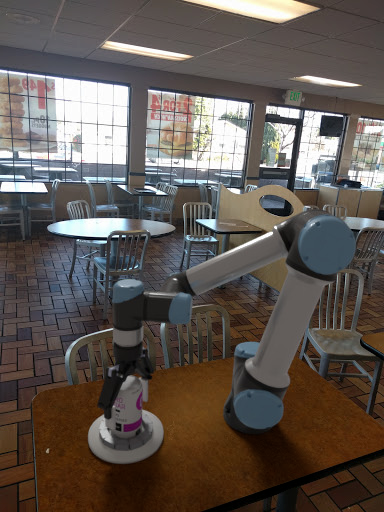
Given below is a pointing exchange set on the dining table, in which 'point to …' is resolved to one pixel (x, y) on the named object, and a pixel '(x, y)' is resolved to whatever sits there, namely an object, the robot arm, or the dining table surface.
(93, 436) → the round tray
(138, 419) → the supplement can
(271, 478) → the dining table surface
